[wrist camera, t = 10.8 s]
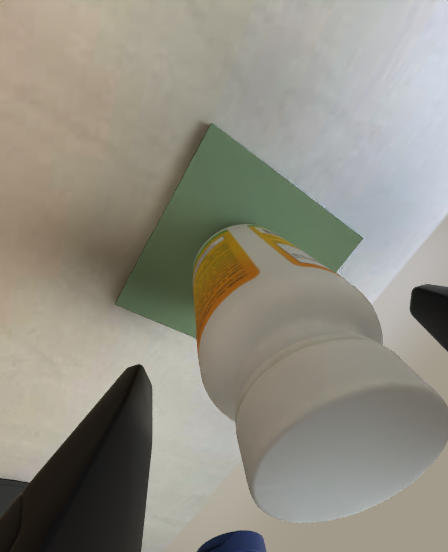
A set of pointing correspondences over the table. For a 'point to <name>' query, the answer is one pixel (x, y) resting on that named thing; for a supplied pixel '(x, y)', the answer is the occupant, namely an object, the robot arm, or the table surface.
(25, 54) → the table surface
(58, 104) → the table surface
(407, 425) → the supplement bottle
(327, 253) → the mat
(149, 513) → the table surface
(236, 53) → the table surface
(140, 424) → the robot arm
